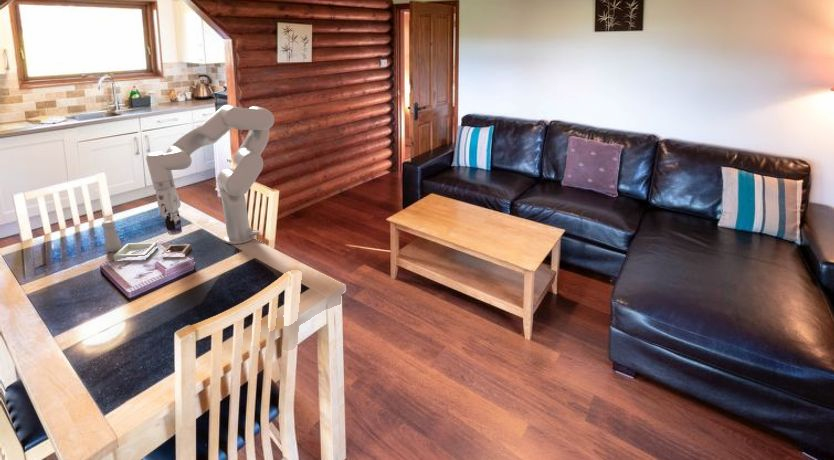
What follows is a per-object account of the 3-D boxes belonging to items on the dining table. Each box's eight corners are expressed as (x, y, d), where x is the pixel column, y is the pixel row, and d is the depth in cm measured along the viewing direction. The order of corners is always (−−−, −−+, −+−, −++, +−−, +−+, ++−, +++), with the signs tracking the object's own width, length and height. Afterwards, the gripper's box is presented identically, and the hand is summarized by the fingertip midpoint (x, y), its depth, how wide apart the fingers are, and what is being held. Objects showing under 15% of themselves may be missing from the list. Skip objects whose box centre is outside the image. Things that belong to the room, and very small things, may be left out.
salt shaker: (117, 246, 208) (110, 218, 203) (125, 249, 205) (118, 220, 200) (104, 251, 203) (96, 222, 198) (112, 254, 200) (104, 225, 195)
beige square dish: (191, 248, 206) (190, 244, 205) (184, 257, 198) (183, 252, 197) (170, 249, 205) (169, 244, 205) (162, 257, 197) (161, 253, 197)
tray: (158, 247, 206) (156, 242, 205) (146, 260, 195) (144, 254, 194) (128, 249, 205) (127, 243, 204) (114, 261, 194) (113, 255, 193)
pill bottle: (173, 236, 196) (169, 215, 192) (165, 233, 198) (160, 213, 194) (185, 231, 200) (181, 211, 196) (176, 229, 202) (172, 209, 199)
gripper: (165, 190, 183) (176, 234, 190) (181, 176, 199) (190, 218, 206) (144, 191, 182) (156, 235, 190) (162, 177, 198) (172, 219, 205)
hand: (174, 226), depth 198 cm, fingers closed on pill bottle, 5 cm apart
